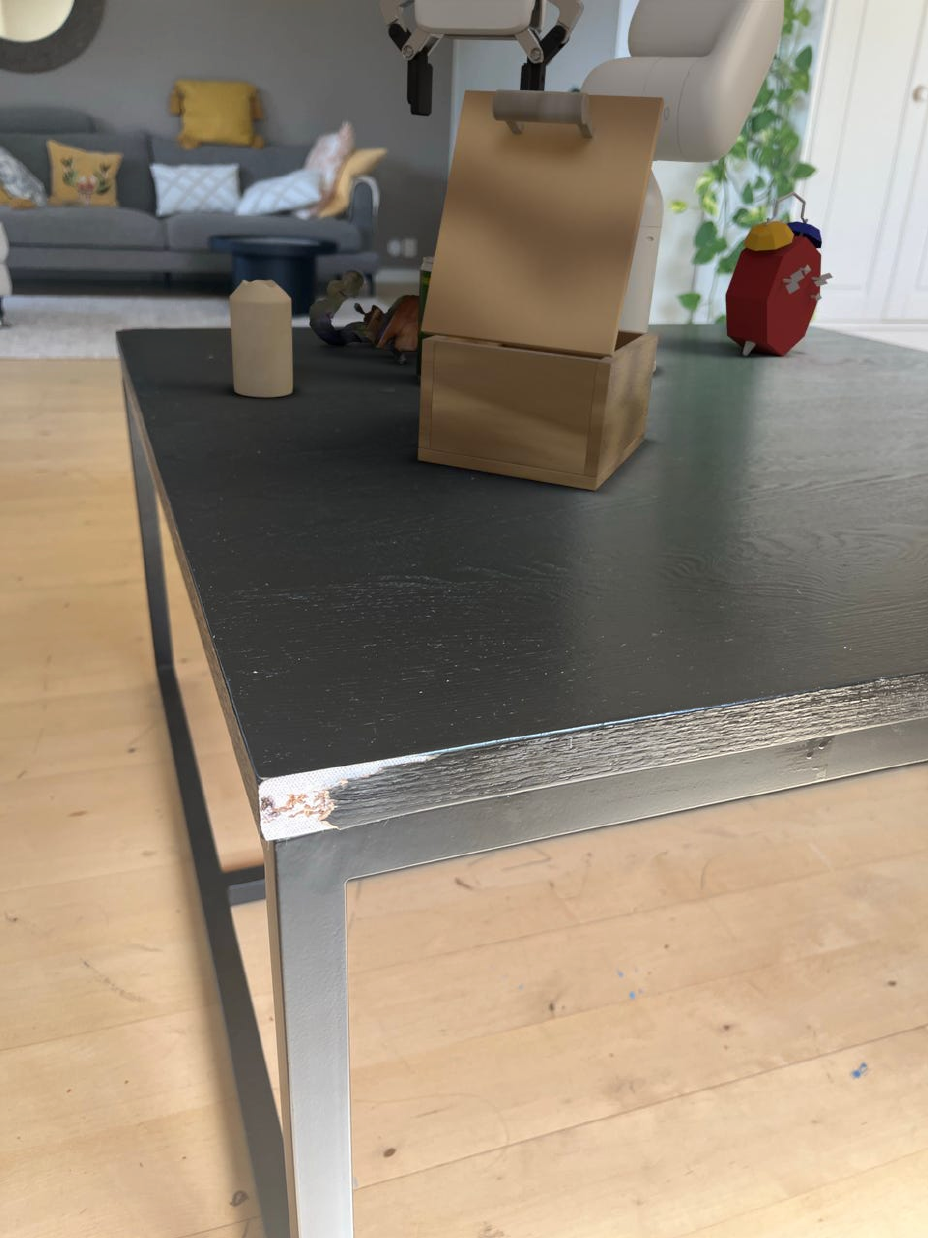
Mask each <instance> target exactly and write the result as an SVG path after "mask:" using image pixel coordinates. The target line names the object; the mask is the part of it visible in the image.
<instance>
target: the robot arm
mask: <svg viewBox="0 0 928 1238" xmlns="http://www.w3.org/2000/svg"><path fill="white" fill-rule="evenodd" d="M547 1H548V2H549V3H550V4H552V5H553V6H555V7H556V8H557V10H558V11H559V14H558V18H557V19H556V20H557V21H556V22H555V24H554V26H553V27H552V28H550V30H549V31H548V32H547V33H546V34H545V36H544V37H542V35H541V34H542V32H543V30H544V27H545V22H546V21H545V20H546V19H545V18H546V9H547ZM412 4H414V21H415V24H416V28H415V29H414V30H413V32H411V31H410V29H409V28H408V27H407V26H406V24H405V22H404V21H405V20H404V17H403V11H404V10H405V9H406V8H407V7H409V6H411V5H412ZM378 9H379V11H380V14H381V16H382V18H383V21H384V24H385V26H386V27H387V33H388V36H389V38H390V39H391V41H392V42H393V43H394V45H395V46H396V47H397V48H398V50H399V51H400V52H401V56H402V58H403V59H404V60H405V61H407V63H406V65H407V66H406V102H407V104H408V105H410V106H409V109H410V114H411V115H412V116H419V117H429V116H431V115H432V112H433V109H432V108H433V81H434V80H433V79H434V67H433V65H432V63H430V62H429V57H430V55H431V54H432V52H433V51H434V50H435V48H436V47H437V45H438V44H439V43H440V41H441V40H442V39H449V40H461V41H512V42H513V41H517V42H518V44H519V45H520V47H521V48H522V50H523V52H524V53H525V55H526V62H523V64H522V65H521V69H520V80H519V81H520V83H519V84H520V85H519V90H531V91H546V90H545V88H546V75H547V67H548V66H550V65H551V64H552V61H553V59H554V58H555V57H556V56H557V54H558V53H560V51H561V50H562V49H563V48H564V47H565V46H566V45H567V44H568V42H569V41H570V40H571V39H570V38H571V35H572V32H573V31H575V28H576V27H577V24H578V22H579V21H580V19H581V16H582V14H583V12H584V11H585V5H584V2H583V1H581V0H379V2H378ZM784 18H785V0H639V1H638V2H637V5H636V7H635V9H634V12H633V15H632V17H631V20H630V23H629V26H628V33H627V49H628V53H629V55H630V56H625V57H623V56H622V57H617V58H612V59H608V60H606V61H604V62H602V63H600V64H599V65H597V66H595V67H594V68H593V69H592V70H590V72H589V73H588V74H587V75H586V77H585V78H584V80H583V82H582V85H581V87H580V90H579V92H585V93H588V95H612V96H638V97H662V98H663V99H664V103H665V104H664V109H663V114H662V118H661V123H660V128H659V133H658V138H657V143H656V148H655V153H654V158H653V162H657V161H662V162H678V163H712V162H715V161H719V160H720V159H722V158H724V157H725V156H727V154H728V153H729V152H731V150H732V149H733V147H734V146H735V144H736V142H737V140H738V139H739V137H740V135H741V134H742V133H741V132H742V131H743V128H744V127H745V124H746V121H747V120H748V117H749V115H750V113H751V111H752V109H753V106H754V104H755V102H756V100H757V98H758V95H759V93H760V91H761V89H762V86H763V84H764V82H765V79H766V77H767V76H768V73H769V71H770V68H771V66H772V64H773V61H774V59H775V57H776V54H777V52H778V51H777V50H778V47H779V45H780V41H781V37H782V34H783V33H782V32H783V27H784V20H785V19H784ZM663 197H664V196H663V194H662V190H661V187H660V185H659V183H658V181H657V179H656V176H655V174H654V171H653V170H652V168H651V173H650V177H649V182H648V187H647V192H646V197H645V202H644V207H643V212H642V217H641V222H640V227H639V231H638V236H637V241H636V246H635V251H634V256H633V261H632V266H631V271H630V276H629V281H628V286H627V290H626V295H625V300H624V305H623V310H622V315H621V320H620V325H619V329H620V330H629V331H637V332H646V333H648V329H649V323H650V316H651V308H652V301H653V293H654V287H655V279H656V272H657V265H658V257H659V249H660V242H661V235H662V229H663V221H664V211H665V210H664V207H665V206H664V204H665V203H664V198H663ZM657 362H658V361H657V360H656V359H655V363H654V370H653V373H654V372H655V371H656V370H657Z"/></svg>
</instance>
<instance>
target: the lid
mask: <svg viewBox="0 0 928 1238" xmlns="http://www.w3.org/2000/svg"><path fill="white" fill-rule="evenodd" d="M462 99H463V100H462V106H461V111H460V116H459V122H458V127H457V132H456V133H457V134H456V137H455V143H454V149H453V154H452V160H451V164H450V170H449V175H448V176H449V177H448V180H447V181H448V182H447V185H446V192H445V197H444V202H443V208H442V213H441V219H440V224H439V230H438V235H437V240H436V246H435V253H434V256H433V257H434V262H433V267H432V273H431V278H430V284H429V289H428V295H427V300H426V306H425V311H424V316H423V322H422V327H421V332H423V333H424V334H429V335H437V336H445V337H453V338H461V339H469V340H477V341H484V342H492V343H500V344H508V345H516V346H524V347H532V348H540V349H548V350H556V351H563V352H571V353H579V354H587V355H595V356H603V357H611V358H612V357H613V354H614V349H615V344H616V340H617V335H618V330H619V325H620V320H621V315H622V310H623V305H624V300H625V295H626V290H627V286H628V281H629V276H630V271H631V266H632V261H633V256H634V251H635V246H636V241H637V236H638V231H639V227H640V222H641V217H642V212H643V207H644V202H645V197H646V192H647V187H648V182H649V177H650V173H651V169H652V167H653V162H654V161H653V158H654V153H655V148H656V143H657V138H658V133H659V128H660V123H661V118H662V114H663V109H664V104H665V103H664V99H663V98H662V97H638V96H612V95H588V93H585V92H580V91H559V90H558V91H556V90H544V91H531V90H520V89H503V88H499V89H496V90H478V89H477V90H475V89H470V90H469V89H464V94H463V98H462Z"/></svg>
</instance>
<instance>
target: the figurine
mask: <svg viewBox="0 0 928 1238" xmlns="http://www.w3.org/2000/svg"><path fill="white" fill-rule="evenodd" d="M364 282H365V279H364V276H363V274H362V273H360V271H358V270H355V269H348V270H346V271H345V273H344V274H343V276H342V279H341V280H337V279H332V280H330V281H329V282H328V285H327V287H326V292H327V295H326V297H325V298H323V299H319V300H317V301H315V302H313V304H312V305H310V306H309V311H308V315H309V316H308V318H309V322H308V325H309V327H310V328H311V330H312V331H313V332H314V333H315V335H316V336H317V337H318V338H319V339H320V341H322V342H324V343H326V344H327V345H328V346H332V347H343V346H344V347H345V346H347V345H348V344H351V343H360V344H363V343H365V344H371V345H372V344H373V346H374V348H376V349H377V348H378V349H386V350H389V351H390V352H391V353H392V355H393V359H394V360H396V361H397V362H398V364H400V365H403V364H404V361H406V355H405V353H417V337H418V309H419V294H418V295H416V294H404V295H401V296H400V297H398V298H397V299H396V300H395V301H394V302H393V304H391V306H390V307H389V308H388V309H387V311H386V312H384V311H383V310H382V309H381V308H380V307H379V306H378V305H376V304H372V305H371V308H370V310H369V311H368V312H365V311H364V308H363V307H362V306H361V304H360V302H359V303H358V302H355V303H354V304H353V309H354V311H355V312H356V313H359V314H360V315H362V316H363V319H362V321H361V320H360V321H359V320H358V321H352V322H349V323H347V324H346V325H345V326H344V327H343V328H340V329H335V327H334V326H333V323H332V322H333V321H332V319H334V317H335V315H336V314H337V312H338V311H339V310H340V309H341V307H342V305H343V304H344V302H345V301H347V300H348V297H350V298H352V299H356V298H357V297H358V296H359V291H360V289H361V288H362V287H363V284H364Z"/></svg>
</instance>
